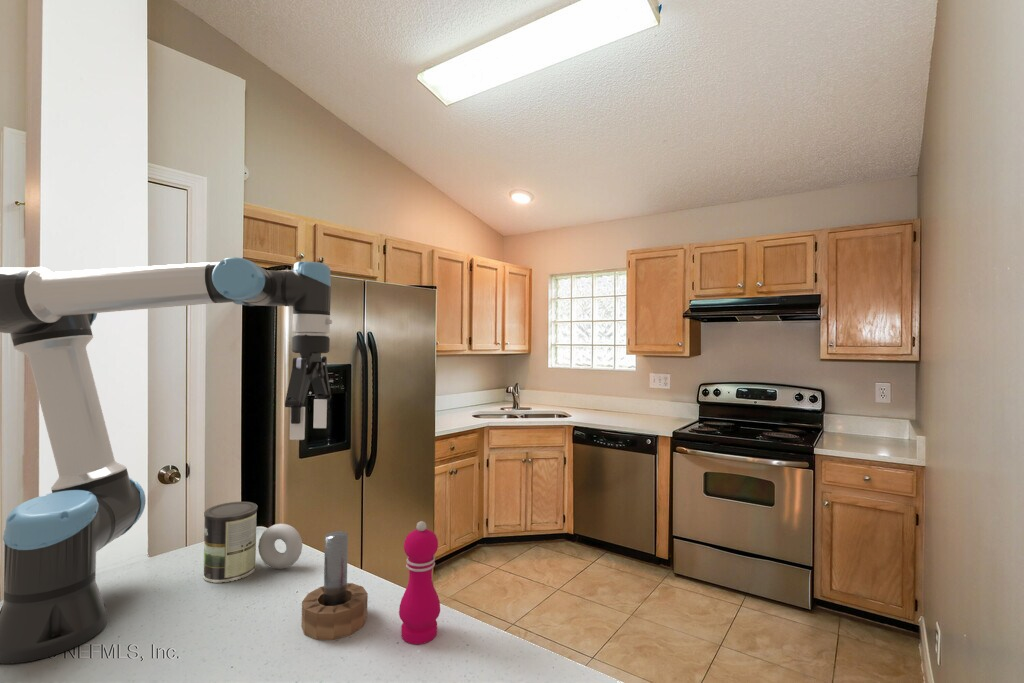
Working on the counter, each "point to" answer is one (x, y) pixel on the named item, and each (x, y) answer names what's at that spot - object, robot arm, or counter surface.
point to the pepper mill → (420, 588)
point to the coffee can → (229, 541)
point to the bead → (334, 614)
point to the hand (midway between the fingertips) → (309, 433)
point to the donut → (269, 550)
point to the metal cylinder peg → (335, 568)
